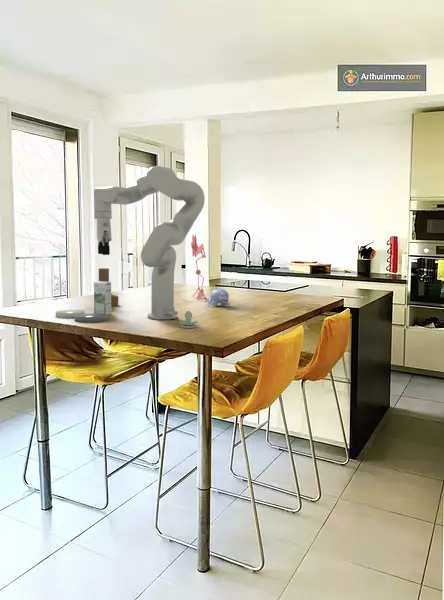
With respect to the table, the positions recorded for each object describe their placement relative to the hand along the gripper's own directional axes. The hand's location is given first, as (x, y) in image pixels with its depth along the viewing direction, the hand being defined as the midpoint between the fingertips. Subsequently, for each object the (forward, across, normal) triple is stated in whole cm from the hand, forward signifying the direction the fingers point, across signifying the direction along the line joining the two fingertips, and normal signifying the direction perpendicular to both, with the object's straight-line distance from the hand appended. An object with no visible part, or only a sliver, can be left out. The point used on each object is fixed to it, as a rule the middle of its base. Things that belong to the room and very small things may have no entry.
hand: (103, 254), depth 238 cm
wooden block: (+26, +18, -5) cm, 32 cm away
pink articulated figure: (+26, +29, -53) cm, 66 cm away
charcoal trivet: (+26, -20, +10) cm, 35 cm away
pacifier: (+27, -46, -24) cm, 59 cm away
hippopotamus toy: (+27, +1, -57) cm, 63 cm away
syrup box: (+26, -8, +2) cm, 27 cm away
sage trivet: (+26, -8, +16) cm, 32 cm away
